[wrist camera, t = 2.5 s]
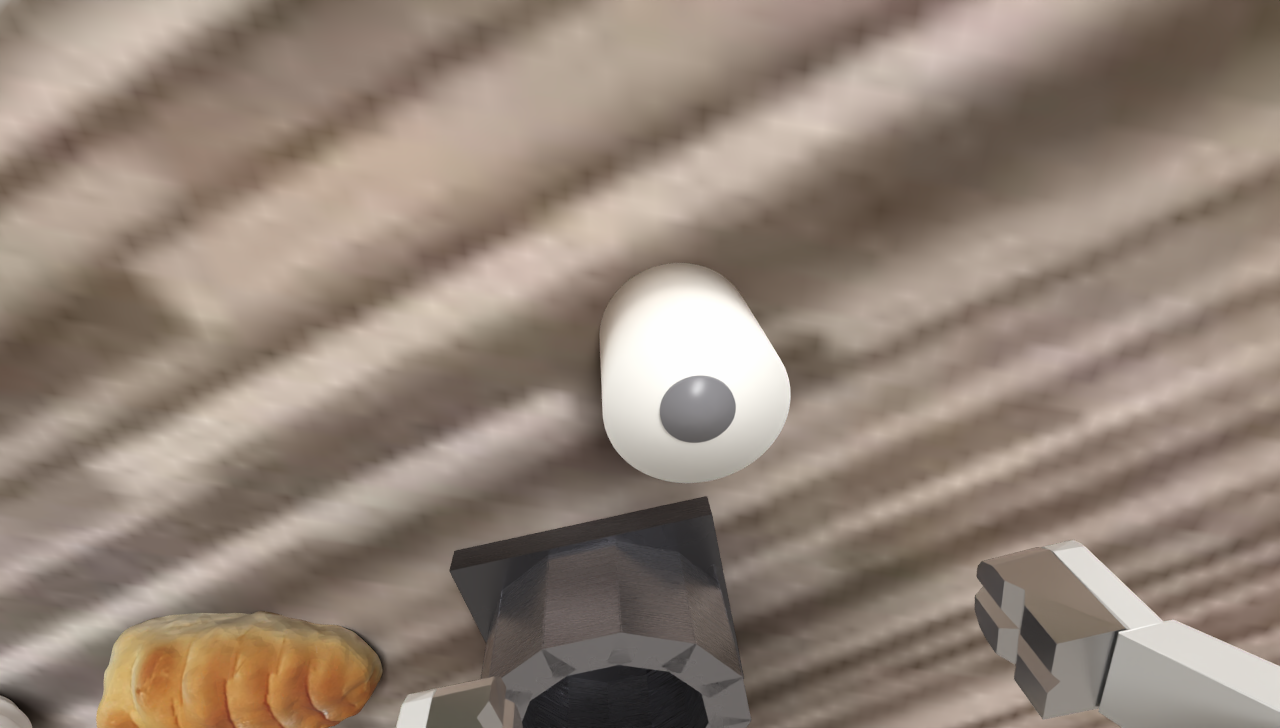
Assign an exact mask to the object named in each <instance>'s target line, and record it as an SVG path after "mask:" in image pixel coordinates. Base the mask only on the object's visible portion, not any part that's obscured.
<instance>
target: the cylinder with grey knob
mask: <svg viewBox="0 0 1280 728" xmlns="http://www.w3.org/2000/svg"><path fill="white" fill-rule="evenodd" d="M599 340H600V363H601V385H602V408H603V421H604V426H605V430H606V432H607V435H608V438H609V440H610V441H611V443H612V445H613V447H614V448H615V450H616V451H617V452H618V453H619V455H620V456H621V457H622V458H623V459H624V460H625V461H626V462H627V463H629V464H630V465H631V466H633V467H634V468H635V469H637V470H639V471H641V472H643V473H644V474H647V475H649V476H652V477H654V478H657V479H661V480H664V481H670V482H676V483H700V482H706V481H712V480H716V479H719V478H723V477H725V476H728V475H731V474H733V473H735V472H737V471H739V470H741V469H743V468H745V467H746V466H748V465H749V464H751V463H753V462H754V461H755V460H756V459H758V458H759V457H760V456H761V455H762V454H763V453H764V452H765V451H766V450H767V449H768V448H769V447H770V446H771V445H772V444H773V442H774V441H775V440H776V438H777V437H778V435H779V433H780V432H781V430H782V428H783V426H784V423H785V421H786V419H787V415H788V412H789V406H790V384H789V378H788V375H787V372H786V369H785V367H784V365H783V363H782V362H781V360H780V358H779V356H778V355H777V353H776V351H775V350H774V348H773V346H772V345H771V343H770V342H769V340H768V338H767V337H766V335H765V333H764V332H763V330H762V328H761V327H760V325H759V324H758V322H757V320H756V319H755V317H754V315H753V314H752V312H751V310H750V309H749V307H748V305H747V304H746V302H745V301H744V299H743V297H742V296H741V294H740V293H739V291H738V290H737V289H736V287H735V286H734V285H733V284H732V283H731V282H730V281H729V280H728V279H726V278H725V277H724V276H722V275H721V274H719V273H717V272H716V271H714V270H712V269H709V268H706V267H704V266H700V265H696V264H690V263H669V264H663V265H659V266H655V267H652V268H649V269H647V270H645V271H642V272H640V273H639V274H637V275H635V276H634V277H632V278H631V279H630V280H628V281H627V282H626V283H624V284H623V285H622V286H621V287H620V288H619V289H618V290H617V292H616V293H615V294H614V295H613V297H612V298H611V300H610V301H609V303H608V305H607V306H606V309H605V311H604V314H603V316H602V320H601V324H600V332H599Z"/></svg>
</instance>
